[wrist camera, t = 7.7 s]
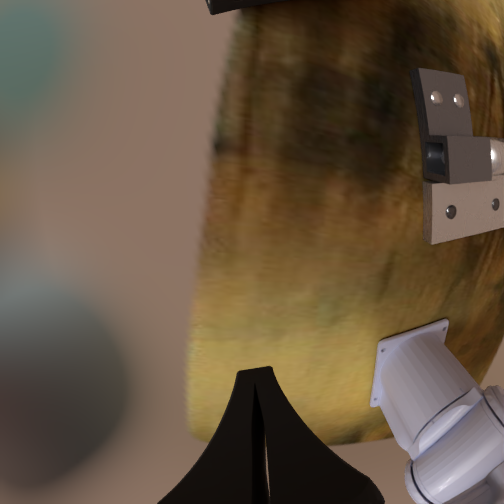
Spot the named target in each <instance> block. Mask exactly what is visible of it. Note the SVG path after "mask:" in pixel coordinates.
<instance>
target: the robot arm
mask: <svg viewBox="0 0 504 504" xmlns="http://www.w3.org/2000/svg"><path fill="white" fill-rule="evenodd" d="M448 325H449V321H448V320H447V319H443V320H440V321H437V322H434V323H432V324H429V325H426V326H423V327H420V328H417V329H414V330H411V331H408V332H405V333H402V334H399V335H396V336H393V337H389V338H386V339H383V340H381V341H380V342H379V343H378V347H377V356H376V364H375V372H374V380H373V386H372V393H371V399H370V406H371V407H376V406H379V405H380V407H381V409H382V411H383V413H384V416H385V418H386V420H387V422H388V424H389V426H390V428H391V430H392V432H393V434H394V436H395V439H396V441H397V443H398V444H399V445H400V446H401V447H402V448H403V449H404V450H406V451H408V453H409V455H410V457H411V459H410V460H409V461H408V462H407V464H406V467H405V484H406V488H407V490H408V492H409V494H410V496H411V497H412V499H413V500H414V501H415V502H416V503H417V504H504V389H503V388H501V387H500V386H498V385H497V386H488V387H487V388H486V390H485V391H484V390H482V389H481V388H480V386H479V385H478V384H477V383H476V381H475V380H474V379H473V378H472V376H471V375H470V374H469V373H468V372H467V370H466V369H465V368H464V367H463V366H462V364H461V363H460V362H459V361H458V360H457V359H456V357H455V356H454V355H453V354H452V353H451V352H450V350H449V349H448V348H447V347H446V346H445V345H444V342H445V338H446V334H447V329H448ZM383 348H384V349H383ZM265 435H266V446H267V459H268V472H269V488H270V496H269V489H268V483H267V475H266V453H265V451H266V450H265ZM384 503H385V500H384V498H383V496H382V494H381V492H380V491H379V489H378V488H377V486H376V485H375V484H374V483H373V482H372V480H371V479H370V478H369V477H367V476H366V475H364V474H363V473H361V472H359V471H358V470H356V469H355V468H353V467H352V466H351V465H349V464H348V463H346V462H345V461H344V460H342V459H341V458H340V457H339V456H338V455H336V454H335V453H334V452H333V451H332V450H330V449H329V448H328V447H327V446H326V445H325V444H324V443H323V442H322V441H321V440H320V439H319V438H318V437H317V436H316V435H315V434H314V433H313V432H312V431H311V430H310V429H309V428H308V427H307V425H306V424H305V423H304V422H303V421H302V419H301V418H300V417H299V415H298V414H297V413H296V411H295V410H294V409H293V407H292V406H291V404H290V403H289V401H288V400H287V398H286V396H285V395H284V393H283V391H282V390H281V388H280V386H279V384H278V382H277V379H276V377H275V374H274V372H273V368H272V367H271V366H266V367H260V368H254V369H248V370H241V371H238V373H237V376H236V380H235V384H234V388H233V391H232V394H231V397H230V400H229V403H228V405H227V408H226V410H225V413H224V415H223V417H222V419H221V421H220V424H219V426H218V428H217V430H216V432H215V434H214V435H213V437H212V439H211V441H210V442H209V444H208V446H207V448H206V449H205V450H204V452H203V453H202V455H201V456H200V458H199V459H198V461H197V462H196V463H195V465H194V466H193V467H192V468H191V470H190V471H189V472H188V473H187V474H186V475H185V477H184V478H183V479H182V480H181V481H180V482H179V483H178V484H177V485H176V486H175V487H174V488H173V489H172V490H171V491H170V492H169V493H168V494H167V495H166V496H165V497H164V498H163V499H162V500H160V501H159V502H158V503H157V504H384Z"/></svg>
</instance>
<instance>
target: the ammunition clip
mask: <svg viewBox="0 0 504 504" xmlns="http://www.w3.org/2000/svg"><path fill="white" fill-rule="evenodd" d="M281 1H288V0H206V3H207V6H208V8H209V11H210V14H211V15H215V14H219V13H223V12H227V11H232V10H236V9H240V8H245V7H250V6H255V5H261V4H267V3H274V2H281Z"/></svg>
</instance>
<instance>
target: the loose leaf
mask: <svg viewBox="0 0 504 504" xmlns="http://www.w3.org/2000/svg"><path fill="white" fill-rule="evenodd" d="M410 76H411V80H412V86H413V91H414V96H415V102H416V108H417V115H418V122H419V130H420V139H421V149H422V160H423V176H424V178H427V179H431V180H434V181H438V182H442V183H446V184H449V185H452V184H462V183H472V182H483V181H492V160H491V143H490V138H489V137H477V136H473V132H472V123H471V115H470V108H469V102H468V96H467V90H466V85H465V80H464V76H463V75H459V74H453V73H448V72H442V71H436V70H430V69H423V68H416V69H413V70H410ZM443 151H444V162H445V164H444V163H443V162H442V159H441V153H442V152H443Z"/></svg>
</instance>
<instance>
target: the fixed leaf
mask: <svg viewBox="0 0 504 504" xmlns="http://www.w3.org/2000/svg"><path fill="white" fill-rule="evenodd" d="M477 137H478V136H477ZM489 138H490V143H491V160H492V181H483V182H472V183H462V184H452V185H449V184H446V183H442V182H438V181H434V180H433V181H423V204H424V225H423V240H424V241H426V242H428V243H429V244H431V245H432V244H437V243H441V242H445V241H450V240H454V239H458V238H462V237H466V236H471V235H475V234H479V233H483V232H487V231H491V230H495V229H499V228H503V227H504V138H494V137H489ZM441 159H442V162H443V163H444V164H445V162H444V151H443V152H442V153H441Z"/></svg>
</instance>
